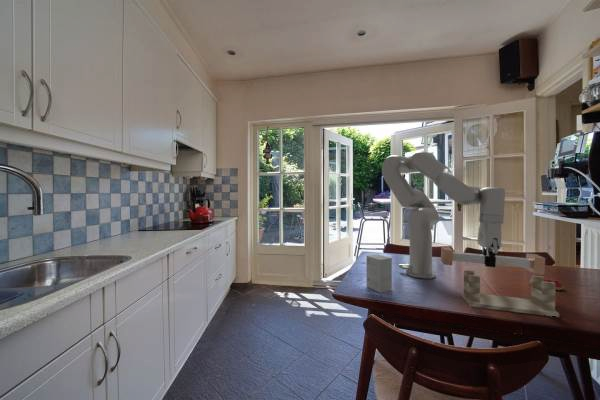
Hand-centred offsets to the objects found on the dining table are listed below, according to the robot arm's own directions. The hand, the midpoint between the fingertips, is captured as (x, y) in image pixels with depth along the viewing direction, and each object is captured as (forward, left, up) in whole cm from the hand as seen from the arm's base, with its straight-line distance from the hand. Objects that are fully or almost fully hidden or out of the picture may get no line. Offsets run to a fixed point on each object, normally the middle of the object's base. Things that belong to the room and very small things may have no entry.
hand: (488, 264), depth 98 cm
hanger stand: (+1, -13, -10) cm, 17 cm away
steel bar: (0, 0, -1) cm, 1 cm away
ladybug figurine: (+23, +12, -11) cm, 28 cm away
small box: (-41, -11, -10) cm, 44 cm away
